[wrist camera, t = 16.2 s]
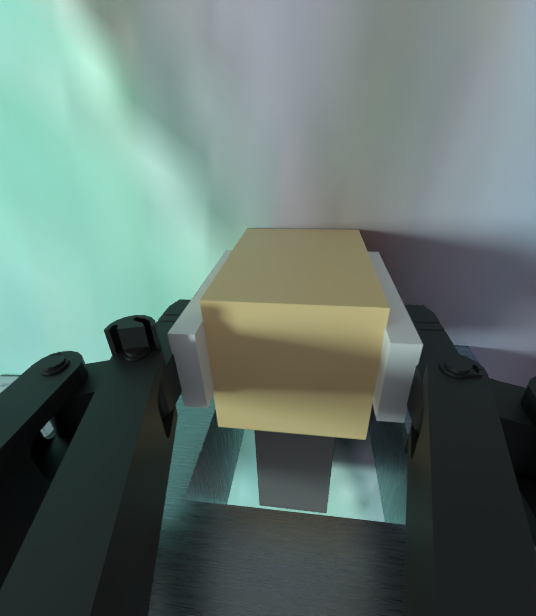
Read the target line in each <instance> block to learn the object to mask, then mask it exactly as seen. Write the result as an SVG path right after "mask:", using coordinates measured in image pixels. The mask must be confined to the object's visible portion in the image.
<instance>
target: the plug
mask: <svg viewBox="0 0 536 616" xmlns="http://www.w3.org/2000/svg"><path fill="white" fill-rule="evenodd" d="M200 306H201V313H202V320H203V324H204V330H205V337H206V343H207V349H208V355H209V362H210V368H211V374H212V380H213V386H214V393H213V394H214V401H215V408H216V415H217V421H218V427H228V428H239V429H250V430H255V443H256V458H257V473H258V488H259V502H260V505H261V506H270V507H278V508H286V509H295V510H303V511H312V512H320V513H326V512H327V503H328V495H329V486H330V477H331V468H332V459H333V451H334V442H335V437H339V438H350V439H362V440H366V436H367V430H368V425H369V420H370V414H371V409H372V403H373V396H374V390H375V385H376V379H377V373H378V367H379V361H380V355H381V349H382V343H383V337H384V331H385V327H387V322H388V317H389V311H390V306H389V304H388V301H387V299H386V296H385V294H384V291H383V289H382V286H381V284H380V281H379V279H378V276H377V274H376V271H375V269H374V266H373V264H372V261H371V259H370V256H369V254H368V251H367V249H366V246H365V244H364V241H363V239H362V236H361V234H360V231H359V230H347V229H255V228H247V229H246V231H245V232H244V234H243V235H242V237H241V238H240V240H239V241H238V243H237V244H236V246H235V247H234V249H233V250H232V252H231V254H230V255H229V257H228V258H227V260H226V261H225V263H224V264H223V266H222V267H221V269H220V270H219V272H218V273H217V275H216V276H215V278H214V279H213V281H212V282H211V284H210V285H209V287H208V288H207V290H206V291H205V293H204V295H203V296H202V298H201V299H200Z"/></svg>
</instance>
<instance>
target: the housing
mask: <svg viewBox="0 0 536 616" xmlns="http://www.w3.org/2000/svg"><path fill="white" fill-rule="evenodd" d="M455 348H456V350H457V351H458V353H459V354H460V355H462V356H466V357H468V358H470V359H472V360H474V361H476V362H477V363H478V364H479V362H478V361H477V359H476V358H475V357H474V355H473V354H472V352H471V351H470V349H469V348H468V346H455ZM176 408H177V414H178V419H177V425H176V432H175V439H174V445H173V452H172V459H171V465H170V472H169V479H168V485H167V492H166V499H165V505H164V512H163V519H162V525H161V532H160V538H159V545H158V552H157V558H156V565H155V572H154V578H153V585H152V592H151V598H150V605H149V612H148V616H403V591H404V559H405V528H406V496H407V464H408V454H406V453H404V450H405V446H406V442H407V438H408V434H409V430H410V427H411V423H412V421H411V418H410V415H409V412H408V409H407V413H406V417H405V421H404V423H400V422H387V421H376V416H375V411H374V406H373V403H372V409H371V414H370V420H369V425H368V426H369V432H370V438H371V443H372V449H373V455H374V461H375V467H376V472H377V478H378V484H379V490H380V496H381V501H382V507H383V513H384V519H385V522H377V521H368V520H360V519H351V518H342V517H333V516H324V515H315V514H306V513H297V512H288V511H279V510H271V509H262V508H253V507H244V506H235V505H227V502H228V498H229V493H230V489H231V485H232V481H233V476H234V472H235V468H236V463H237V459H238V455H239V451H240V446H241V442H242V438H243V433H244V429H239V428H228V427H218V421H217V415H216V408H215V401H214V394H213V396H212V399H211V401H210V404H209V406H208V408H197V407H184V404H183V399H182V395H180V397H179V399H178V401H177V403H176ZM534 547H535V545H534ZM535 550H536V547H535Z"/></svg>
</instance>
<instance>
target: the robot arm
mask: <svg viewBox="0 0 536 616" xmlns="http://www.w3.org/2000/svg"><path fill="white" fill-rule="evenodd" d="M231 252H232V251H225V253H224V254H223V256H222V257H221V258H220V260H219V261H218V263H217V264H216V265H215V267H214V268H213V270H212V271H211V273H210V274H209V275H208V277H207V278H206V280H205V281H204V282H203V284H202V285H201V287H200V288H199V290H198V291H197V292H196V294H195V295H194V297H193V298H192V299H191V300H178V301H177V302H175V303H173V304H172V305H170V306H169V307H168V308H167V310H166V311H165V312H164V313H163V315H162V316H161V317H160V318H159V320H158V322H156V323H155V320H154V319H153V318H151V317H149V316H145V315H134V316H128V317H124V318H122V319H119V320H116V321H115V322H113V323H111V324H110V325H108V326H107V327H106V328H105V330H104V332H105V335H106V338H107V341H108V344H109V347H110V350H111V352H112V357H111V359H110V360H108V361H102V362H95V363H89V364H85V362H84V360H83V357H82V355H80V354H79V353H78V352H73V351H64V352H57V353H54V354H50V355H49V356H47V357H45V358H42V359H41V360H39V361H38V362H36V363H35V364H33V365H32V366H31V367H30V368H29V369H27V370H26V371H25V372H24V373H23V374H22V375H21V376H19V377H18V378H17V379H16V380H15V381H14V382H12V383H11V384H10V385H9V386H8V387H7V388H6V389H4V390H3V391H2V392H1V393H0V616H148V612H149V605H150V598H151V592H152V585H153V578H154V572H155V565H156V558H157V552H158V545H159V538H160V532H161V525H162V519H163V512H164V505H165V499H166V492H167V485H168V479H169V472H170V465H171V459H172V452H173V445H174V439H175V432H176V425H177V419H178V414H177V408H176V403H177V401H178V399H179V397H180V395H182V399H183V404H184V407H197V408H208V406H209V404H210V401H211V399H212V396H213V393H214V386H213V380H212V374H211V368H210V362H209V355H208V349H207V343H206V337H205V330H204V324H203V320H202V313H201V306H200V299H201V298H202V296H203V295H204V293H205V291H206V290H207V288H208V287H209V285H210V284H211V282H212V281H213V279H214V278H215V276H216V275H217V273H218V272H219V270H220V269H221V267H222V266H223V264H224V263H225V261H226V260H227V258H228V257H229V255H230V254H231ZM368 254H369V256H370V259H371V261H372V264H373V266H374V269H375V271H376V274H377V276H378V279H379V281H380V284H381V286H382V289H383V291H384V294H385V296H386V299H387V301H388V304H389V306H390V311H389V317H388V322H387V327H385V331H384V337H383V343H382V349H381V355H380V361H379V367H378V373H377V379H376V385H375V390H374V396H373V406H374V411H375V416H376V421H387V422H400V423H404V421H405V417H406V413H407V409H408V412H409V415H410V418H411V421H412V423H411V427H410V430H409V434H408V438H407V442H406V446H405V450H404V453H406V454H408V464H407V496H406V528H405V559H404V591H403V616H536V550H535V547H536V376H535V377H533V378H532V379H530V381H529V383H528V386H527V388H524V387H520V386H516V385H512V384H508V383H504V382H500V381H497V380H493V379H490V378H489V377H488V374H487V373H486V371H485V369H484V368H483V367H482V366H481V365H480V364H478V363H477V362H476V361H474V360H472V359H470V358H468V357H466V356H462V355H460V354H459V353H458V351H457V350H456V348H455V346H454V345H453V343H452V341H451V340H450V338H449V337H448V335H447V333H446V332H444V328H443V327H442V325H441V324H440V322H439V320H438V319H437V317H436V316H435V314H434V313H433V312H432V311H430V310H429V309H427V308H426V307H424V306H423V305H404V304H403V302H402V300H401V298H400V296H399V294H398V291H397V289H396V287H395V285H394V283H393V281H392V279H391V277H390V275H389V273H388V271H387V269H386V267H385V264H384V262H383V260H382V258H381V256H380V254H379V252H368ZM49 421H50V423H51V425H52V427H53V430H52V432H51V433H50V434H49V435H47V436H46V437H44V436H43V434H42V432H41V430H42V428H43V427H44V426H45V425H46V424H47V423H48V422H49ZM534 545H535V547H534Z"/></svg>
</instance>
